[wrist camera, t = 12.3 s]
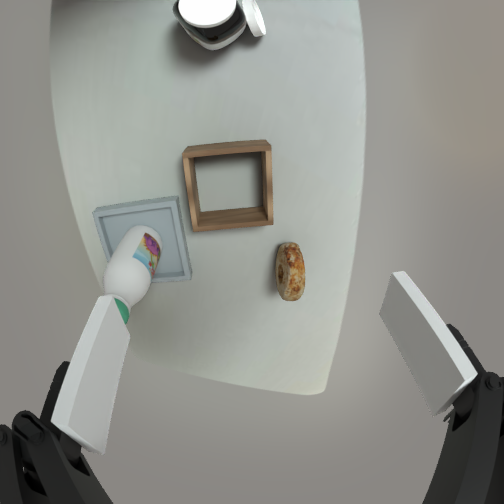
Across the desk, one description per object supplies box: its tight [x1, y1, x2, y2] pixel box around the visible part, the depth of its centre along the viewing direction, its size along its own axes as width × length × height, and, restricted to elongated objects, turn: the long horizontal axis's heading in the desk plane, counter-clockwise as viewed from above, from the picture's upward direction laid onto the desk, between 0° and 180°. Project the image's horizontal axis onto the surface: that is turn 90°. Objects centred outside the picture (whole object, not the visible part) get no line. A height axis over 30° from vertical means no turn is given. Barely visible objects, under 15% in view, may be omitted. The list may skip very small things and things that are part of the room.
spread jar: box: [173, 0, 266, 50], centre depth 27 cm, size 12×11×12 cm
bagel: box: [275, 242, 305, 301], centre depth 51 cm, size 10×4×10 cm, turn 177°
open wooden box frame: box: [182, 140, 273, 232], centre depth 43 cm, size 13×13×6 cm
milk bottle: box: [103, 225, 163, 325], centre depth 41 cm, size 8×8×20 cm
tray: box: [92, 196, 192, 283], centre depth 49 cm, size 16×16×2 cm
